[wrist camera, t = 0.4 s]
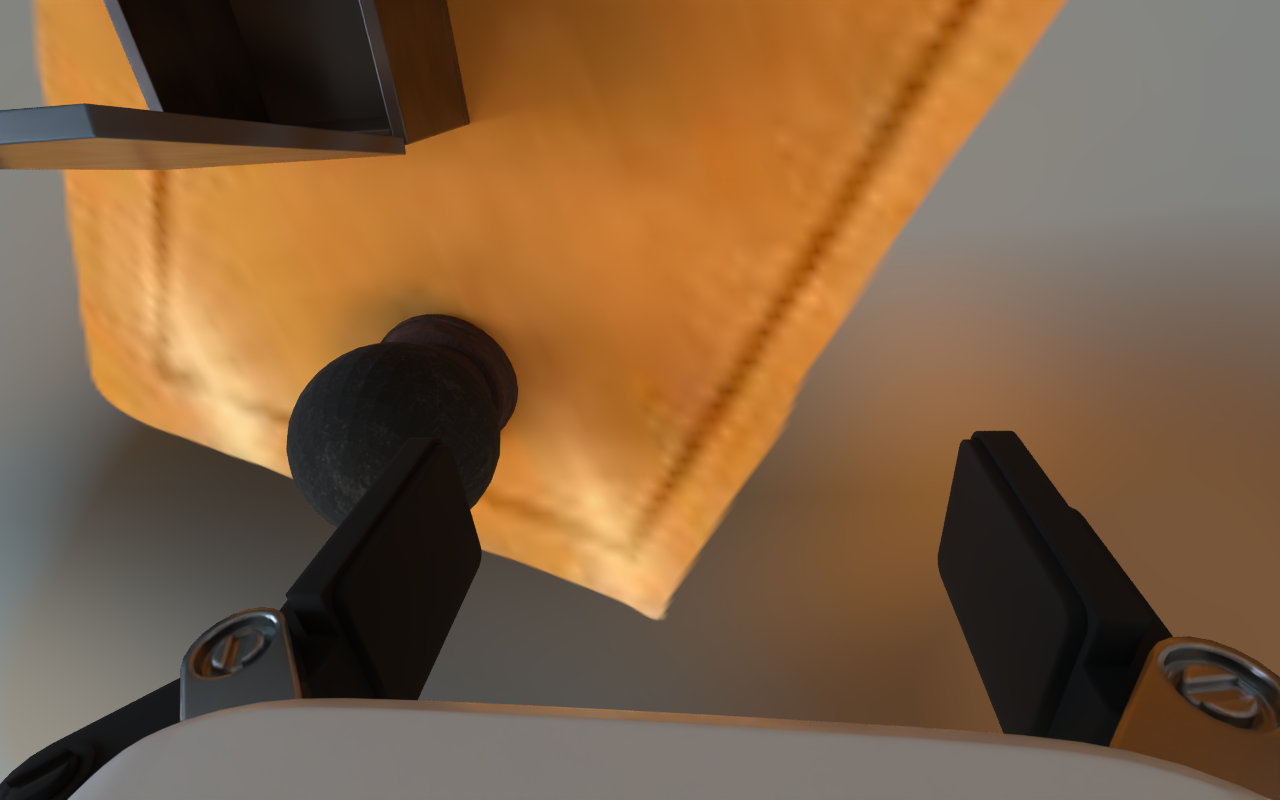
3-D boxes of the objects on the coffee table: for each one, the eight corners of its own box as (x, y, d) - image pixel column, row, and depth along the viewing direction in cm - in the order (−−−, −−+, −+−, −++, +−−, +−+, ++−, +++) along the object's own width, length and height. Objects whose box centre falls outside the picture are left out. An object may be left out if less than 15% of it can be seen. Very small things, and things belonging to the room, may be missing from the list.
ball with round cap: (387, 270, 45) (250, 364, 32) (555, 351, 46) (489, 471, 33) (351, 407, 51) (225, 532, 38) (498, 474, 53) (426, 614, 40)
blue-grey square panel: (-339, 137, 17) (-322, 168, 18) (84, 103, 15) (96, 137, 16) (161, 153, 33) (166, 169, 33) (403, 137, 31) (406, 154, 31)
